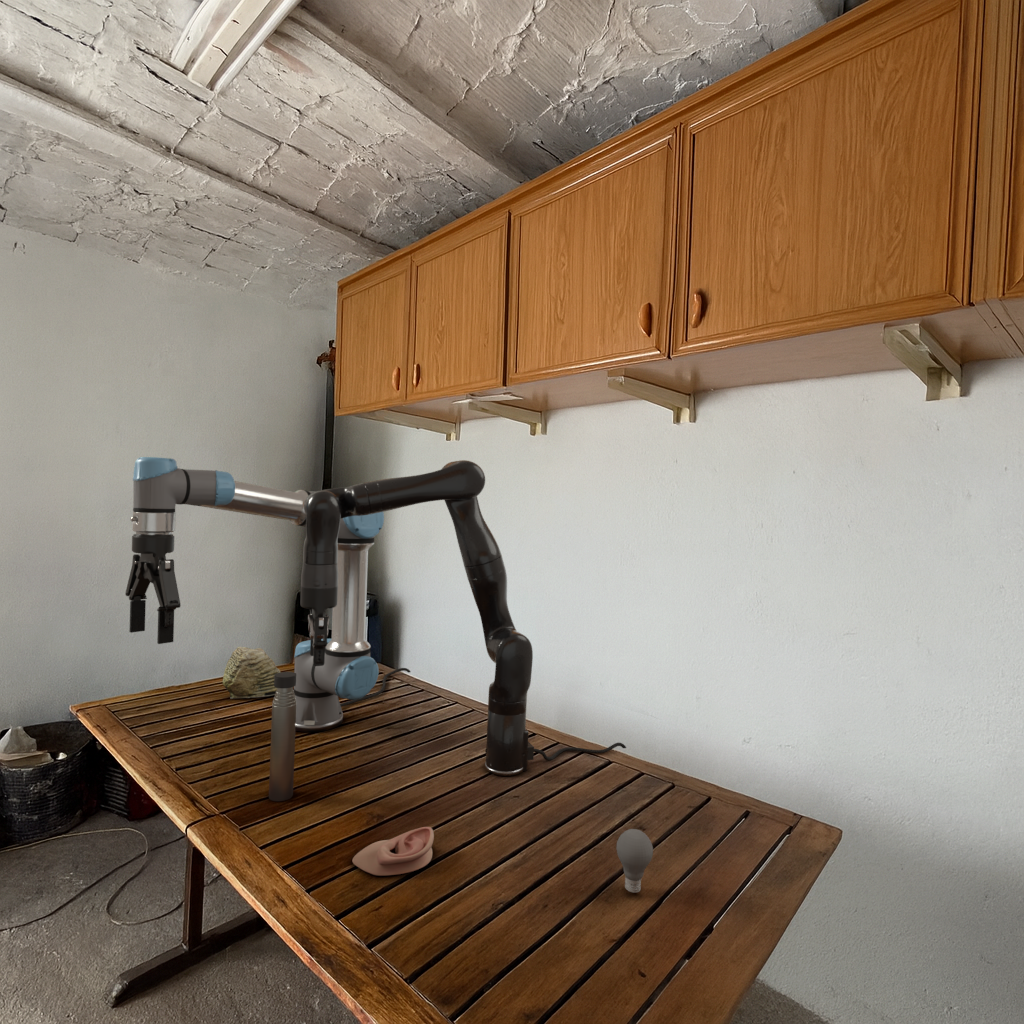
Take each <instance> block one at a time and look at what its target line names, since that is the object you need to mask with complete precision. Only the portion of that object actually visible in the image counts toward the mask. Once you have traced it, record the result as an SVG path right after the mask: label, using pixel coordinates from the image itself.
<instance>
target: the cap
mask: <svg viewBox="0 0 1024 1024" xmlns="http://www.w3.org/2000/svg"><path fill="white" fill-rule="evenodd" d="M294 686H296V673H294V672H293V671H280V673H276V674H275V675H274V687H276V688H291V687H293V688H294Z"/></svg>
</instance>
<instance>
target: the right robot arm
mask: <svg viewBox="0 0 1024 1024" xmlns="http://www.w3.org/2000/svg"><path fill="white" fill-rule="evenodd" d="M485 485H486V475H485V473H484V471H483V469H482V468H481V466H480V465H479V464H477V463H475V462H473V461H471V460H465V459H463V460H462V459H461V460H455V461H450V462H448V463H446V464H445V465H444V466H443V467H442V468H441V469H438V470H435V471H430V472H426V473H421V474H416V475H409V476H400V477H393V478H392V477H391V478H381V479H378V480H372V481H366V482H362V483H361V482H360V483H357V484H353V485H350V486H343V487H342V486H341V487H334V488H327V489H320V490H314V491H315V492H313V493H311V494H310V495H309V496H308V497H307V498H306V500H305V503H304V511H305V514H306V527H305V538H304V542H303V549H302V551H303V552H302V568H301V576H300V578H301V579H300V602H299V603H300V607H301V608H302V609H307V610H309V614H308V615H307V622H308V626H307V627H308V633H309V634H308V635H309V638H310V640H311V643H310V655H311V656H313V665H314V666H323V665H324V663H325V648H326V646H327V639H328V637H329V623H330V616H328V615H329V614H328V613H326V610H327V609H333V608H334V607H336V606H337V597H338V566H337V560H338V533H339V526H340V519H341V518H345V517H350V516H363V515H369V514H374V513H379V512H383V513H385V512H388V511H394V510H397V509H401V508H405V507H410V506H413V505H414V506H415V505H418V504H423V503H428V502H429V503H430V502H436V501H444V503H445V505H446V508H447V510H448V513H449V515H450V517H451V521H452V524H453V527H454V532H455V535H456V540H457V544H458V548H459V552H460V556H461V559H462V563H463V567H464V571H465V573H466V578H467V581H468V583H469V587H470V590H471V593H472V596H473V599H474V601H475V602H474V603H475V605H476V607H477V610H478V613H479V616H480V620H481V625H482V631H483V637H484V643H485V649H486V653H487V655H488V657H489V658H490V660H491V661H492V662H493V663H494V664H495V669H494V680H493V682H491V683H490V684H489V686H488V696H487V697H488V700H487V701H488V702H487V723H486V724H487V725H486V745H485V751H484V753H485V762H484V768H485V770H486V771H487V772H489V773H490V774H493V775H496V776H502V777H509V776H510V777H511V776H516V775H519V774H522V773H523V772H527V771H528V761H533V760H534V758H535V757H534V756H535V755H534V754H535V753H537V754H539V755H541V756H542V758H543V759H544V760H546V761H549V762H550V761H553V760H554V759H556V758H557V757H558V756H559V755H561V754H562V753H565V752H580V753H582V752H583V753H588V754H605V753H607V752H610V751H612V750H614V749H615V748H616V747H621V748H622V749H627V746H626V745H625V744H624V743H623V742H615V743H613V744H611V745H610V746H608V747H606V748H603V749H590V748H582V747H572V746H571V747H563V748H560V749H559V750H557V751H556V752H555V753H554V754H553V755H551V756H548V755H547V754H546V752H545V751H543V750H542V749H538V748H535V746H534V745H533V744H532V743H531V742H529V733H530V732H529V730H528V729H527V728H526V727H527V726H526V725H527V703H528V702H527V701H528V692H529V690H530V687H531V683H532V672H533V660H534V659H533V658H534V652H533V651H534V649H533V645H532V643H531V641H530V639H529V638H528V637H527V636H526V635H525V634H522V633H521V632H520V631H518V630H517V629H516V627H515V624H514V621H513V619H512V616H511V613H510V610H509V605H508V575H507V570H506V566H505V562H504V559H503V555H502V552H501V550H500V547H499V544H498V542H497V540H496V538H495V537H494V535H493V533H492V531H491V530H490V528H489V526H488V524H487V522H486V520H485V519H484V516H483V514H482V511H481V507H480V503H479V499H478V496H479V495H481V493H482V492H483V491H484V489H485ZM321 639H323V641H321Z"/></svg>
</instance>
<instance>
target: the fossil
mask: <svg viewBox="0 0 1024 1024" xmlns="http://www.w3.org/2000/svg"><path fill="white" fill-rule="evenodd" d="M280 672H281V669H279V668H278V667H277V665H276V663H275V662H274V660H273V659H272V658H271V657H270V656H269V655H268V654H267V653H266V652H265V650H264V649H263V648H260V647H258V648H251V647H247V646H246V647H245V646H238V647H237V648H236V649H235V650H233V651H232V653H231V656H230V657H229V659H228V660H227V663H226V666H225V668H224V671H223V675H222V676H223V677H222V685H223V687H224V688H225V690H226V691H228V693H229V698H230V699H250V698H264V697H271V696H275V694H276V691H277V688H276V687H274V675H275V674H276V673H280Z"/></svg>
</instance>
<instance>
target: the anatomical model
mask: <svg viewBox="0 0 1024 1024" xmlns="http://www.w3.org/2000/svg"><path fill="white" fill-rule="evenodd" d="M434 839H435V833H434V829H433V828H432V827H431V826H423V827H419V828H415V829H411V830H408V831H406V832H404V833H401V834H399V835H397V836H394V837H392V838H390V839H384V840H379V841H375V842H373V843H371V844H369V845H367V846H365V847H364V848H362V849H360V850H359V851H358V852H357V853H356V854H355V855H354V856H353V857H352V860H351V861H352V864H353V865H354V866H356V867H357V868H358V869H360V870H362V871H363V872H366V873H368V874H370V875H373V876H379V877H382V876H385V877H386V876H394V875H401V874H402V875H403V874H407V873H412V872H414V871H418V870H419V869H422V868H424V867H426V866H428V864H429V863H430V862H431V861H432V859H433V848H432V847H433V843H434Z"/></svg>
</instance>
